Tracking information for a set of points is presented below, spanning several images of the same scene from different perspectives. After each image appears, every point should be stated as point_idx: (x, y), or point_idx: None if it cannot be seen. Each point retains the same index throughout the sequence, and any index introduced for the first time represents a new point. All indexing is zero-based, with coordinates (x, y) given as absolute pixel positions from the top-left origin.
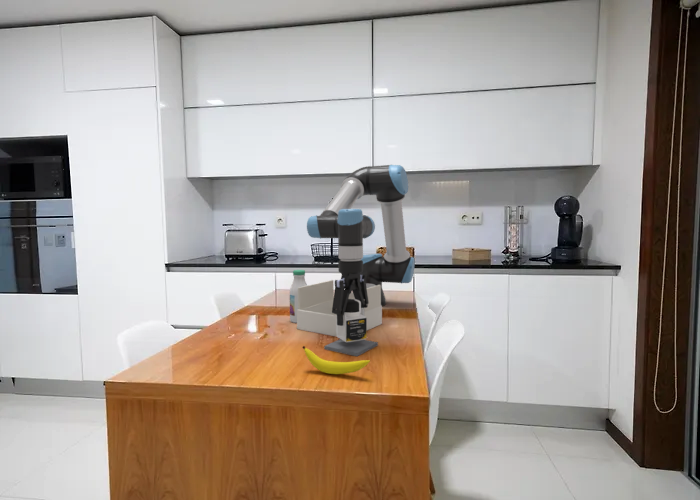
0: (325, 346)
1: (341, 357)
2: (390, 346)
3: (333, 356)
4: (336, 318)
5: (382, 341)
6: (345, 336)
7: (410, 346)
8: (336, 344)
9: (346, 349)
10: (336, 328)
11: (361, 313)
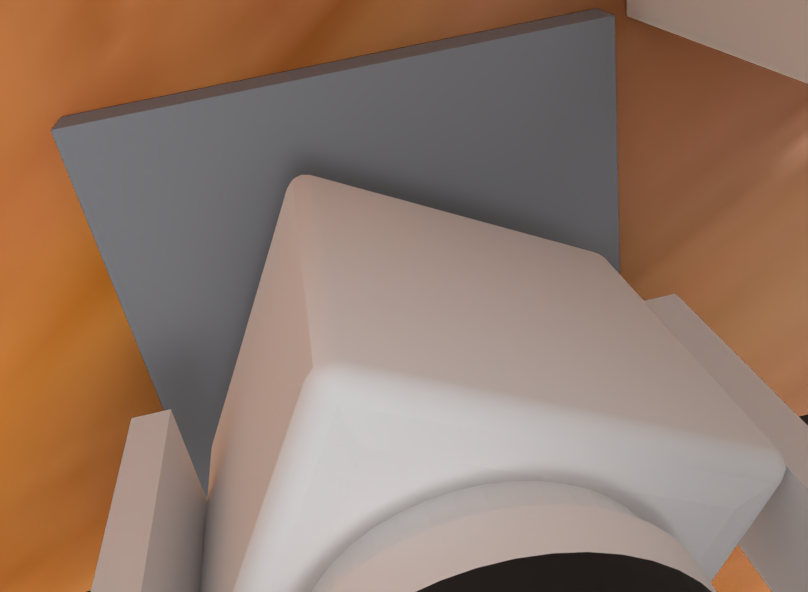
0: (60, 150)
1: (70, 450)
2: None
3: (11, 382)
4: (300, 351)
5: (747, 364)
6: (210, 488)
7: (734, 579)
8: (236, 201)
9: (205, 410)
10: (290, 243)
11: (772, 566)
